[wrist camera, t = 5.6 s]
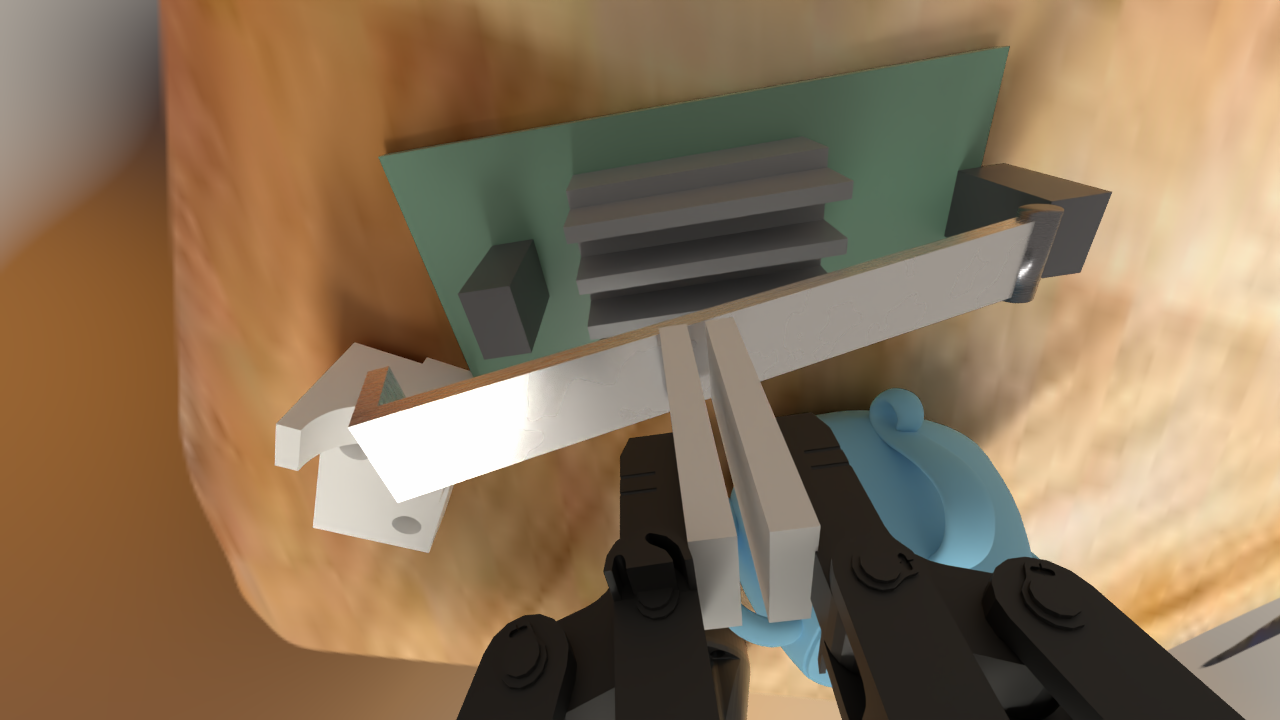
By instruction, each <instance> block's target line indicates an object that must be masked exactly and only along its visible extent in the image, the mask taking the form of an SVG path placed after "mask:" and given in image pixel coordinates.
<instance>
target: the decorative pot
mask: <svg viewBox="0 0 1280 720" xmlns="http://www.w3.org/2000/svg"><path fill="white" fill-rule="evenodd" d="M815 416H817V417H818V418H819V419H820V420H822V421H823V422H824V423H825V424H827V425H828V426H829V427H830V428H831V430H832V432H833V434H834V435H835V437H836V439H837V441H838V443H839V444H840V448H841V450H843V452H844V453H845V455H846V457H847V459H848V461H849V465H851V466H852V468H853V470H854V472H855V473H856V475H857V477H858V479H859V481H860V482H861V484H862V486H863V488H864V490H865V491H866V493H867V495H868V497H869V499H870V500H871V502H872V504H873V506H874V508H875V509H876V511H877V513H878V515H879V517H880V518H881V520H882V522H883V524H884V526H885V527H886V528H887V530H888V531H889V533H890V534H891V535H892V536H893V537H894V538H895V539H896V540H898V541H899V542H901V543H902V544H903V545H905V546H906V547H908V548H909V549H910V550H912V551H913V552H914V554H916V555H919V556H921V557H923V558H925V559H927V560H930V561H933V562H937V563H941V564H945V565H950V566H955V567H961V568H967V569H972V570H978V571H984V572H989V573H993V572H994V570H995V568H996V567H997V566H998V565H1000V564H1001V563H1002V562H1004V561H1005V560H1007V559H1011V558H1018V557H1030V558H1036V559H1039V558H1038V557H1037V556H1036V555H1035V554H1033V553H1032V552H1031V550H1030V546H1029V542H1028V538H1027V535H1026V532H1025V528H1024V525H1023V522H1022V519H1021V515H1020V513H1019V510H1018V508H1017V506H1016V504H1015V501H1014V499H1013V497H1012V495H1011V493H1010V491H1009V489H1008V488H1007V486H1006V484H1005V482H1004V481H1003V479H1002V477H1001V476H1000V474H999V473H998V471H997V470H996V468H995V467H994V465H993V464H992V462H991V461H990V459H989V458H988V456H987V455H986V454H985V453H984V452H983V451H982V449H981V448H980V447H979V446H978V445H977V444H976V443H975V442H973V441H972V440H971V439H969V438H968V437H967V436H965V435H963V434H962V433H960V432H958V431H956V430H954V429H952V428H950V427H948V426H944V425H941V424H938V423H935V422H932V421H928V420H925V419H924V410H923V406H922V403H921V401H920V399H919V398H918V397H917V396H916V395H915V394H914V393H912V392H910V391H908V390H905V389H900V388H891V389H888V390H886V391H884V392H882V393H880V394H879V395H878V396H877V397H876V398H875V399H874V400H873V402H872V404H871V406H870V410H848V411H839V412H831V413H825V414H819V415H815ZM728 499H729V503H730V508H731V512H732V516H733V520H734V524H735V528H736V533H737V540H738V557H739V575H740V583H741V585H742V588H743V590H744V592H745V594H746V596H747V598H748V600H749V601H750V603H751V605H752V607H753V608H754V610H755V612H756V613H757V614H756V613H754V612H752V611H750V610H748V609H747V608H746V607H744V606H743V605H742V604H741V610H742V626H736V627H729V628H730V629H731V630H732V631H733V632H734V633H735V634H737V635H738V636H740V637H741V638H743V639H745V640H747V641H749V642H751V643H754V644H757V645H760V646H766V647H780V646H781V647H782V649H783V650H784V651H785V653H786V654H787V655H788V656H789V658H790V659H791V660H792V661H793V662H794V663H795V664H796V666H797V667H798V668H799V669H800V670H801V671H802V672H803V673H804V675H806V676H807V677H808V678H809V679H811V680H813V681H814V682H816V683H818V684H821V685H824V686H828V687H832V685H831V682H830V678H829V675H828V672H827V669H826V673H825V674H819V668H818V653H819V646H820V638H821V628H820V626H819V623H818V620H817V617H816V614H815V611H814V608H813V605H812V612H811V618H810V619H800V620H791V621H782V622H773V623H769V620H768V617H767V613H766V609H765V605H764V601H763V597H762V593H761V589H760V585H759V582H758V578H757V574H756V570H755V566H754V562H753V558H752V554H751V551H750V547H749V543H748V539H747V535H746V531H745V527H744V523H743V519H742V516H741V512H740V508H739V504H738V500H737V496H736V492H735V488H734V487H733V490H732V493H731V496H730V498H728Z"/></svg>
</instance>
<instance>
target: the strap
mask: <svg viewBox="0 0 1280 720" xmlns="http://www.w3.org/2000/svg"><path fill="white" fill-rule="evenodd" d="M1063 212H1064V209H1063V208H1062V207H1060V206H1056V205H1050V204H1028V205H1023V206H1021V207H1019V208H1018V211H1017V214H1016V218H1012V219H1009V220H1005V221H1002V222H999V223H995V224H992V225H989V226H985V227H982V228H978V229H975V230H972V231H968V232H965V233H961V234H958V235H955V236H951V237H948V238H945V239H941V240H938V241H934V242H931V243H928V244H924V245H921V246H917V247H914V248H911V249H907V250H904V251H901V252H897V253H894V254H890V255H887V256H884V257H880V258H877V259H873V260H870V261H867V262H863V263H860V264H857V265H853V266H850V267H846V268H843V269H840V270H836V271H833V272H829V273H826V274H823V275H819V276H816V277H813V278H809V279H806V280H802V281H799V282H796V283H792V284H789V285H785V286H782V287H779V288H775V289H772V290H769V291H765V292H762V293H758V294H755V295H752V296H748V297H745V298H741V299H738V300H735V301H731V302H728V303H725V304H721V305H718V306H714V307H711V308H708V309H704V310H701V311H697V312H694V313H691V314H687V315H684V316H681V317H677V318H674V319H670V320H667V321H664V322H660V323H657V324H653V325H650V326H647V327H643V328H640V329H637V330H633V331H630V332H626V333H623V334H620V335H616V336H613V337H609V338H606V339H603V340H599V341H596V342H593V343H589V344H586V345H582V346H579V347H576V348H572V349H569V350H565V351H562V352H559V353H555V354H552V355H549V356H545V357H542V358H538V359H535V360H532V361H528V362H525V363H521V364H518V365H515V366H511V367H508V368H505V369H501V370H498V371H494V372H491V373H488V374H484V375H481V376H477V377H474V378H471V379H467V380H464V381H461V382H457V383H454V384H450V385H447V386H444V387H440V388H437V389H433V390H430V391H427V392H423V393H420V394H417V395H413V396H410V397H406V396H405V395H404V393H403V391H402V389H401V387H400V385H399V384H398V382H397V380H396V378H395V376H394V374H393V372H392V371H391V369H390V367H389V366H387V367H383V368H380V369H376V370H373V371H369V372H367V375H366V378H365V381H364V384H363V386H362V389H361V392H360V395H359V398H358V400H357V403H356V406H355V409H354V412H353V414H352V417H351V420H350V423H349V426H348V428H349V430H350V431H351V433H352V434H353V436H354V437H355V439H356V440H357V442H358V443H359V445H360V446H361V448H362V450H363V451H364V453H365V454H366V456H367V457H368V459H369V460H370V462H371V463H372V465H373V466H374V468H375V469H376V471H377V472H378V474H379V475H380V477H381V478H382V480H383V481H384V483H385V484H386V486H387V487H388V489H389V490H390V492H391V493H392V495H393V496H394V498H395V499H396V501H397V502H398V503H399V502H402V501H405V500H408V499H411V498H414V497H417V496H420V495H423V494H426V493H429V492H432V491H435V490H438V489H441V488H444V487H447V486H449V485H452V484H455V483H458V482H461V481H464V480H467V479H470V478H473V477H476V476H479V475H482V474H485V473H488V472H491V471H494V470H497V469H500V468H503V467H506V466H509V465H512V464H515V463H518V462H521V461H524V460H527V459H530V458H533V457H536V456H539V455H542V454H545V453H548V452H551V451H554V450H557V449H560V448H563V447H566V446H569V445H572V444H575V443H578V442H581V441H584V440H587V439H590V438H593V437H596V436H599V435H602V434H605V433H608V432H611V431H614V430H617V429H620V428H623V427H626V426H629V425H632V424H635V423H638V422H641V421H644V420H647V419H650V418H653V417H656V416H659V415H662V414H665V413H668V412H670V407H669V400H668V392H667V385H666V378H665V370H664V363H663V355H662V348H661V340H660V333H659V328H661V327H668V326H674V325H681V324H687V328H688V332H689V336H690V340H691V344H692V348H693V353H694V357H695V361H696V365H697V369H698V374H699V378H700V382H701V386H702V390H703V395H704V399H705V400H706V399H709V398H711V387H710V375H709V364H708V352H707V340H706V328H705V321H708V320H715V319H722V318H728V317H733V318H734V320H735V323H736V325H737V328H738V330H739V332H740V335H741V337H742V340H743V342H744V344H745V347H746V349H747V351H748V354H749V356H750V359H751V361H752V363H753V366H754V368H755V371H756V373H757V375H758V378H759V380H760V381H763V380H766V379H769V378H772V377H775V376H778V375H781V374H784V373H787V372H790V371H793V370H796V369H799V368H802V367H805V366H808V365H811V364H814V363H817V362H820V361H823V360H826V359H829V358H832V357H835V356H838V355H841V354H844V353H847V352H850V351H853V350H856V349H859V348H862V347H865V346H868V345H871V344H874V343H877V342H880V341H883V340H886V339H889V338H892V337H895V336H898V335H901V334H904V333H907V332H910V331H913V330H916V329H919V328H922V327H925V326H928V325H931V324H934V323H937V322H940V321H943V320H946V319H949V318H952V317H955V316H958V315H961V314H963V313H966V312H969V311H972V310H975V309H978V308H981V307H984V306H987V305H990V304H993V303H996V302H999V301H1005V302H1010V303H1026V302H1030V301H1032V300H1033V299H1034V296H1035V293H1036V290H1037V287H1038V284H1039V281H1040V278H1041V276H1042V273H1043V270H1044V267H1045V264H1046V261H1047V258H1048V256H1049V253H1050V250H1051V247H1052V244H1053V241H1054V238H1055V235H1056V233H1057V230H1058V227H1059V224H1060V221H1061V218H1062V215H1063Z"/></svg>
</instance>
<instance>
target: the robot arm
mask: <svg viewBox="0 0 1280 720" xmlns="http://www.w3.org/2000/svg"><path fill="white" fill-rule="evenodd" d="M705 328H706V340H707V352H708V364H709V375H710V387H711V399H712V403H713V407H714V411H715V415H716V418H717V422H718V426H719V430H720V434H721V438H722V442H723V446H724V450H725V453H726V457H727V461H728V465H729V469H730V473H731V477H732V481H733V485H734V488H735V492H736V496H737V500H738V504H739V508H740V512H741V516H742V519H743V523H744V527H745V531H746V535H747V539H748V543H749V547H750V551H751V554H752V558H753V562H754V566H755V570H756V574H757V578H758V582H759V585H760V589H761V593H762V597H763V601H764V605H765V609H766V613H767V617H768V620H769V623H773V622H782V621H791V620H800V619H810V618H811V612H812V605H813V608H814V611H815V614H816V617H817V620H818V623H819V626H820V628H821V638H820V646H819V653H818V668H819V674H825V673H826V669H827V672H828V675H829V678H830V682H831V685H832V688H833V691H834V695H835V698H836V701H837V705H838V708H839V711H840V714H841V718H842V720H1245V719H1244V718H1243V717H1242V716H1241V715H1240V714H1238V713H1237V712H1236V711H1235V710H1234V709H1232V707H1230V706H1229V705H1228V704H1227V703H1226V702H1225V701H1223V700H1222V699H1221V698H1220V697H1219V696H1218V695H1217V694H1215V693H1214V692H1213V691H1212V690H1211V689H1210V688H1208V686H1206V685H1205V684H1204V683H1203V682H1202V681H1201V680H1199V679H1198V678H1197V677H1196V676H1195V675H1194V674H1193V673H1191V672H1190V671H1189V670H1188V669H1187V668H1186V667H1185V666H1183V665H1182V664H1181V663H1180V662H1179V661H1178V660H1177V659H1175V658H1174V657H1173V656H1172V655H1171V654H1170V653H1168V652H1167V651H1166V650H1165V649H1164V648H1163V647H1162V646H1161V645H1159V644H1158V643H1157V642H1156V641H1155V640H1154V639H1153V638H1151V637H1150V636H1149V635H1148V634H1147V633H1146V632H1145V631H1143V630H1142V629H1141V628H1140V627H1139V626H1138V625H1137V624H1135V623H1134V622H1133V621H1132V620H1131V619H1130V618H1129V617H1127V616H1126V615H1125V614H1124V613H1123V612H1122V611H1121V610H1119V609H1118V608H1117V607H1116V606H1115V605H1114V604H1113V603H1111V602H1110V601H1109V600H1108V599H1107V598H1106V597H1104V596H1103V595H1102V594H1101V593H1100V592H1099V591H1098V590H1096V589H1095V588H1094V587H1093V586H1092V585H1090V584H1089V583H1088V582H1086V581H1085V580H1083V579H1082V578H1080V577H1079V576H1078V575H1076V574H1075V573H1073V572H1072V571H1070V570H1068V569H1066V568H1063V567H1061V566H1059V565H1056V564H1054V563H1052V562H1049V561H1047V560H1041V559H1036V558H1030V557H1018V558H1011V559H1007V560H1005V561H1004V562H1002V563H1001V564H1000V565H998V566H997V567H996V568H995V570H994V572H993V573H989V572H984V571H978V570H972V569H967V568H961V567H955V566H950V565H945V564H941V563H937V562H933V561H930V560H927V559H925V558H923V557H921V556H919V555H916V554H914V552H913V551H912V550H910V549H909V548H908V547H906V546H905V545H903V544H902V543H901V542H899V541H898V540H896V539H895V538H894V537H893V536H892V535H891V534H890V533H889V531H888V530H887V528H886V527H885V526H884V524H883V522H882V520H881V518H880V517H879V515H878V513H877V511H876V509H875V508H874V506H873V504H872V502H871V500H870V499H869V497H868V495H867V493H866V491H865V490H864V488H863V486H862V484H861V482H860V481H859V479H858V477H857V475H856V473H855V472H854V470H853V468H852V466H851V465H849V461H848V459H847V457H846V455H845V453H844V452H843V450H841V448H840V444H839V443H838V441H837V439H836V437H835V435H834V434H833V432H832V430H831V428H830V427H829V426H828V425H827V424H825V423H824V422H823V421H822V420H820V419H819V418H818V417H817V416H815V415H814V414H813V413H812V412H810V413H803V414H795V415H788V416H780V417H775V416H774V413H773V411H772V409H771V406H770V404H769V402H768V399H767V397H766V394H765V392H764V390H763V387H762V385H761V382H760V380H759V378H758V375H757V373H756V371H755V368H754V366H753V363H752V361H751V359H750V356H749V354H748V351H747V349H746V347H745V344H744V342H743V340H742V337H741V335H740V332H739V330H738V328H737V325H736V323H735V320H734V318H733V317H728V318H722V319H715V320H708V321H705ZM659 333H660V340H661V348H662V355H663V363H664V370H665V378H666V385H667V392H668V400H669V407H670V415H671V422H672V430H673V432H672V433H665V434H658V435H650V436H643V437H636V438H629V440H628V442H627V444H626V446H625V448H624V450H623V452H622V454H621V456H620V477H621V480H620V494H621V496H620V539H619V540H618V541H616V542H615V544H614V545H613V547H612V548H611V550H610V552H609V553H608V555H607V557H606V562H605V567H604V571H603V572H604V575H605V578H606V581H607V584H608V586H609V589H608V590H607V592H606V593H604V594H603V595H602V596H601V597H600V598H599V599H598V600H597V601H595V602H594V603H592V604H591V605H589V606H587V607H586V608H584V609H581V610H579V611H577V612H575V613H573V614H571V615H569V616H567V617H565V618H563V619H560V620H558V621H555V620H554V619H552V618H550V617H547V616H544V615H541V614H535V615H525V616H522V617H520V618H518V619H516V620H514V621H512V622H510V623H508V624H507V625H506V626H505V627H504V628H503V629H502V630H501V631H500V632H498V633H497V634H496V635H495V636H494V637H493V639H492V641H491V642H490V644H489V646H488V648H487V649H486V651H485V653H484V654H483V657H482V659H481V661H480V664H479V666H478V669H477V671H476V674H475V676H474V678H473V681H472V683H471V686H470V688H469V690H468V693H467V695H466V698H465V700H464V703H463V705H462V707H461V710H460V712H459V715H458V717H457V720H747V707H748V695H749V682H750V663H749V658H748V654H747V649H746V644H745V640H744V639H743V638H741V637H740V636H738V635H737V634H735V633H734V632H733V631H732V630H731V629H730V628H729V627H736V626H742V610H741V593H740V575H739V557H738V540H737V533H736V528H735V524H734V520H733V516H732V512H731V508H730V503H729V499H728V495H727V491H726V487H725V482H724V478H723V474H722V470H721V466H720V461H719V457H718V453H717V449H716V445H715V441H714V436H713V432H712V428H711V424H710V420H709V415H708V411H707V407H706V403H705V399H704V395H703V390H702V386H701V382H700V378H699V374H698V369H697V365H696V361H695V357H694V353H693V348H692V344H691V340H690V336H689V332H688V328H687V324H681V325H674V326H668V327H661V328H659Z"/></svg>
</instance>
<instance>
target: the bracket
mask: <svg viewBox="0 0 1280 720" xmlns="http://www.w3.org/2000/svg"><path fill="white" fill-rule="evenodd" d="M387 366H389V367H390V369H391V371H392V372H393V374H394V376H395V378H396V380H397V382H398V384H399V385H400V387H401V389H402V391H403V393H404V395H405V396H406V397H410V396H413V395H417V394H420V393H423V392H427V391H430V390H433V389H437V388H440V387H444V386H447V385H450V384H454V383H457V382H461V381H464V380H467V379H471V378H473V376H472V373H471V371H469V370H466V369H462V368H459V367H456V366H453V365H450V364H447V363H444V362H441V361H437V360H434V359H431V358H428V357H427V358H426V359H425V361H424V362H423V364H422V363H418V362H415V361H412V360H409V359H406V358H403V357H399V356H396V355H393V354H390V353H387V352H384V351H380V350H377V349H374V348H371V347H368V346H365V345H361V344H358V343H355V342H354V343H353V344H352V345H351V346H350V348H349V349H348V350H347V351H346V352H345V353H344V354H343V355H342V356H341V357H340V358H339V359H338V360H337V361H336V362H335V363H334V364H333V365H332V366H331V367H330V368H329V369H328V370H327V371H326V372H325V374H324V375H323V376H322V377H321V378H320V379H319V380H318V381H317V382H316V383H315V384H314V385H313V386H312V387H311V388H310V389H309V390H308V391H307V392H306V393H305V394H304V395H303V396H302V397H301V398H300V399H299V401H298V402H297V403H296V404H295V405H294V406H293V407H292V408H291V409H290V410H289V411H288V412H287V413H286V414H285V415H284V416H283V417H282V418H281V419H280V420H279V421H278V422H277V423H276V443H275V465H276V466H280V467H284V468H288V469H292V470H296V471H299V470H300V468H301V467H302V466H303V465H304V464H305V463H307V462H308V461H309V460H311V459H312V458H313V457H315V456H317V455H319V454H320V460H319V470H318V480H317V491H316V501H315V511H314V521H313V528H317V529H322V530H326V531H331V532H335V533H340V534H345V535H349V536H354V537H358V538H363V539H367V540H372V541H376V542H381V543H386V544H390V545H395V546H399V547H404V548H408V549H413V550H417V551H422V552H427V553H429V551H430V549H431V546H432V544H433V541H434V539H435V536H436V534H437V531H438V529H439V526H440V524H441V521H442V519H443V516H444V514H445V511H446V508H447V505H448V502H449V498H450V495H451V492H452V489H453V486H454V484H452V485H449V486H447V487H444V488H441V489H438V490H435V491H432V492H429V493H426V494H423V495H420V496H417V497H414V498H411V499H408V500H405V501H402V502H399V503H398V502H397V501H396V499H395V498H394V496H393V495H392V493H391V492H390V490H389V489H388V487H387V486H386V484H385V483H384V481H383V480H382V478H381V477H380V475H379V474H378V472H377V471H376V469H375V468H374V466H373V465H372V463H371V462H370V460H369V459H368V457H367V456H366V454H365V453H364V451H363V450H362V448H361V446H360V445H359V443H358V442H357V440H356V439H355V437H354V436H353V434H352V433H351V431H350V430H349V428H348V426H349V423H350V420H351V417H352V414H353V412H354V409H355V406H356V403H357V400H358V398H359V395H360V392H361V389H362V386H363V384H364V381H365V378H366V375H367V372H369V371H373V370H376V369H380V368H383V367H387Z"/></svg>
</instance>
